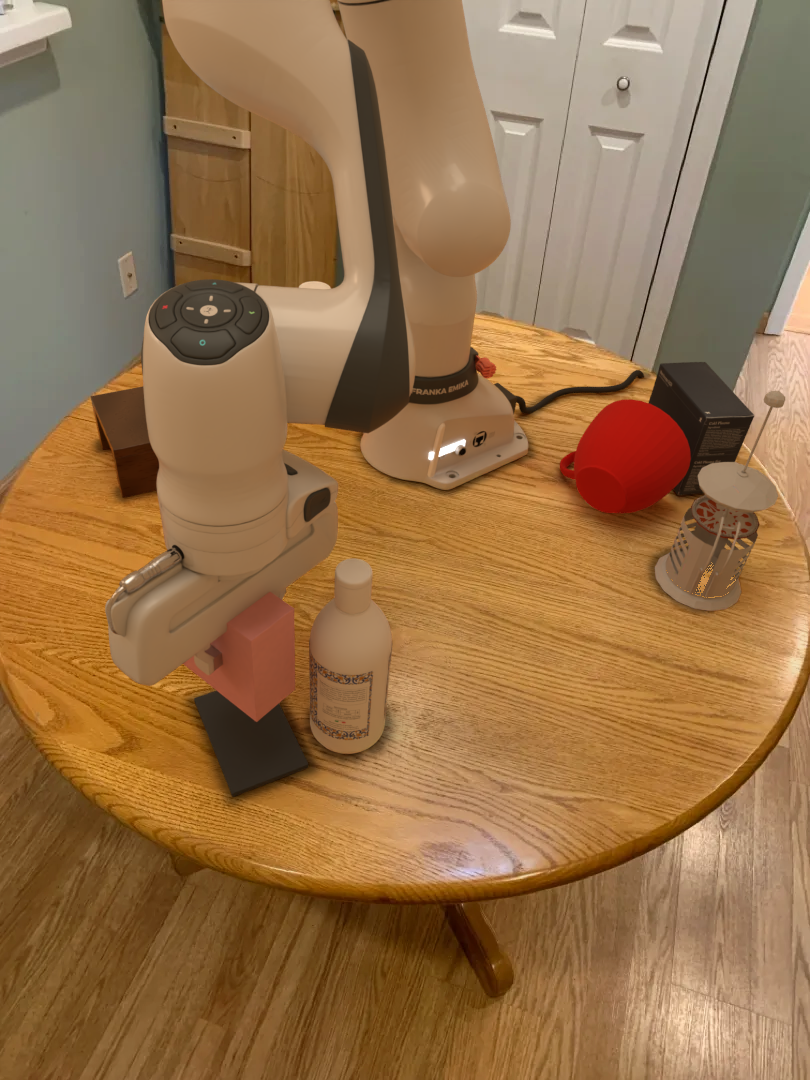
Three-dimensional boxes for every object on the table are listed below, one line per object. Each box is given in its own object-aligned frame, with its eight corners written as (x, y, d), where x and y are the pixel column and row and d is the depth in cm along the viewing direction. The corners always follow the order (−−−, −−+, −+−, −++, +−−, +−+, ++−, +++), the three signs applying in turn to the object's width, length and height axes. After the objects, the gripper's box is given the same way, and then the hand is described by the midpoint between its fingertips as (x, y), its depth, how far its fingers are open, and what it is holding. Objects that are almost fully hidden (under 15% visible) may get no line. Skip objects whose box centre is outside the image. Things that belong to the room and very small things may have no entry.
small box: (725, 493, 109) (757, 415, 101) (677, 497, 108) (706, 419, 100) (679, 434, 119) (706, 359, 111) (634, 438, 117) (658, 361, 109)
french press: (743, 564, 99) (830, 379, 82) (738, 632, 91) (834, 443, 74) (659, 541, 101) (727, 356, 84) (647, 606, 93) (720, 415, 76)
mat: (265, 677, 82) (265, 673, 81) (308, 767, 75) (308, 764, 74) (194, 701, 79) (193, 697, 79) (232, 797, 72) (232, 793, 72)
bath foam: (345, 682, 82) (351, 528, 69) (399, 723, 79) (416, 569, 66) (294, 726, 78) (289, 570, 65) (349, 770, 75) (356, 617, 61)
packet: (222, 634, 75) (214, 552, 68) (295, 689, 71) (294, 608, 64) (182, 663, 72) (169, 581, 65) (256, 722, 68) (251, 641, 62)
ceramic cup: (553, 533, 110) (593, 489, 115) (666, 535, 97) (706, 485, 101) (512, 450, 105) (556, 407, 110) (625, 440, 92) (669, 392, 96)
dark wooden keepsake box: (207, 420, 113) (202, 374, 108) (236, 471, 105) (233, 424, 101) (100, 442, 108) (90, 396, 103) (122, 498, 100) (113, 450, 95)
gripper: (134, 619, 52) (160, 748, 61) (353, 473, 64) (347, 598, 74) (71, 570, 55) (105, 701, 64) (294, 439, 67) (295, 564, 76)
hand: (237, 645), depth 69 cm, fingers closed on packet, 4 cm apart
